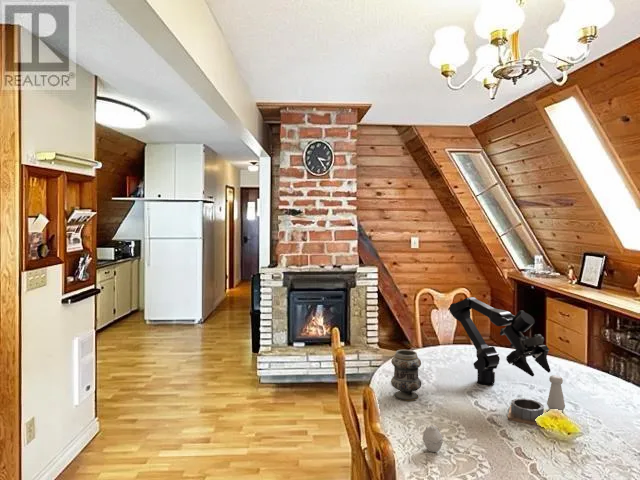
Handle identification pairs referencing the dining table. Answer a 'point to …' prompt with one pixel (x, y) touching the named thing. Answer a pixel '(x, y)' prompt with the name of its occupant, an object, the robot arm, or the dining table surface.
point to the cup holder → (525, 411)
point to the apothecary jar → (406, 375)
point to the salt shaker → (556, 393)
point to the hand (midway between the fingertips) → (541, 373)
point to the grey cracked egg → (432, 439)
